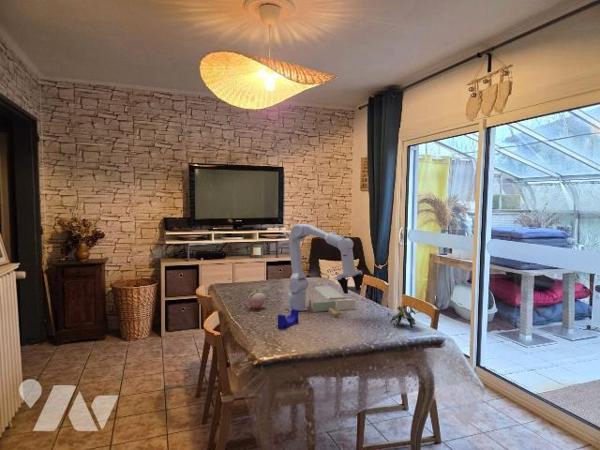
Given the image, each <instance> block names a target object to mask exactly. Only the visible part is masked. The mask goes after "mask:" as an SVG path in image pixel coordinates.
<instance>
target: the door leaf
mask: <svg viewBox="0 0 600 450" xmlns="http://www.w3.org/2000/svg"><path fill="white" fill-rule="evenodd" d="M336 307H337V300H331V301H330V300H329V301H317V302H312V312H313V313H314V312H326V311H327V312H328V310H329V308H336Z"/></svg>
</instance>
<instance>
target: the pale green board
mask: <svg viewBox="0 0 600 450" xmlns="http://www.w3.org/2000/svg"><path fill="white" fill-rule="evenodd" d="M336 308H337V309H338V310H340V311H347V310H355V309H356V299H355V298H347V299H346V298H345V299H336ZM308 313H310V314H311V313H312V300H311V299H309V300H308Z"/></svg>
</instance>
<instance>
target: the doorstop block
mask: <svg viewBox="0 0 600 450" xmlns="http://www.w3.org/2000/svg"><path fill="white" fill-rule="evenodd" d="M327 312H328V313H329V314H330V315H331V316H332V317H333V318H334V319H340V318H343V315H344V314H343V312H342V310H338V309H337V308H329V310H328V311H327Z"/></svg>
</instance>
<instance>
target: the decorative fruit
mask: <svg viewBox="0 0 600 450" xmlns="http://www.w3.org/2000/svg"><path fill="white" fill-rule="evenodd" d="M255 290H256V291H253V292H251V293H250V294H249V295H248V296H247V297H248V298H247V302H248V304H249V305H250V306H251V308H254V309H255V310H257V309H260V308H261V307H262V306H263V305H264V304H265V302H266V299H267V297H266V295H265V292H264V291H262V290H258V289H255Z"/></svg>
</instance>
